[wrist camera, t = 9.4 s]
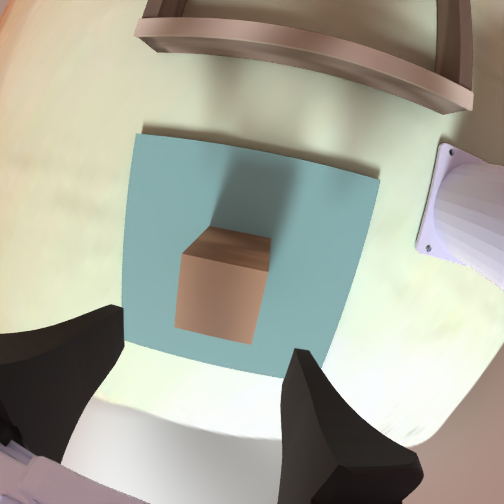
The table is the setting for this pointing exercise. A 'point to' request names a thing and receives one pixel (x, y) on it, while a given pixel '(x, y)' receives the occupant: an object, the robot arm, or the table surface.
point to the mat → (251, 222)
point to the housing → (327, 51)
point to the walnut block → (222, 284)
